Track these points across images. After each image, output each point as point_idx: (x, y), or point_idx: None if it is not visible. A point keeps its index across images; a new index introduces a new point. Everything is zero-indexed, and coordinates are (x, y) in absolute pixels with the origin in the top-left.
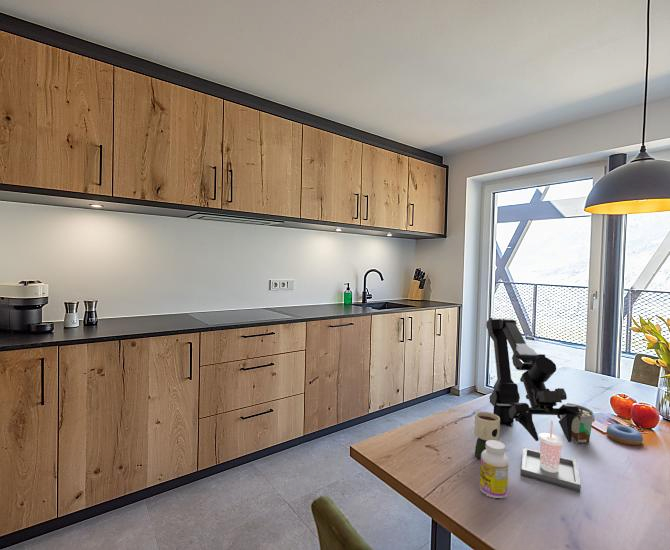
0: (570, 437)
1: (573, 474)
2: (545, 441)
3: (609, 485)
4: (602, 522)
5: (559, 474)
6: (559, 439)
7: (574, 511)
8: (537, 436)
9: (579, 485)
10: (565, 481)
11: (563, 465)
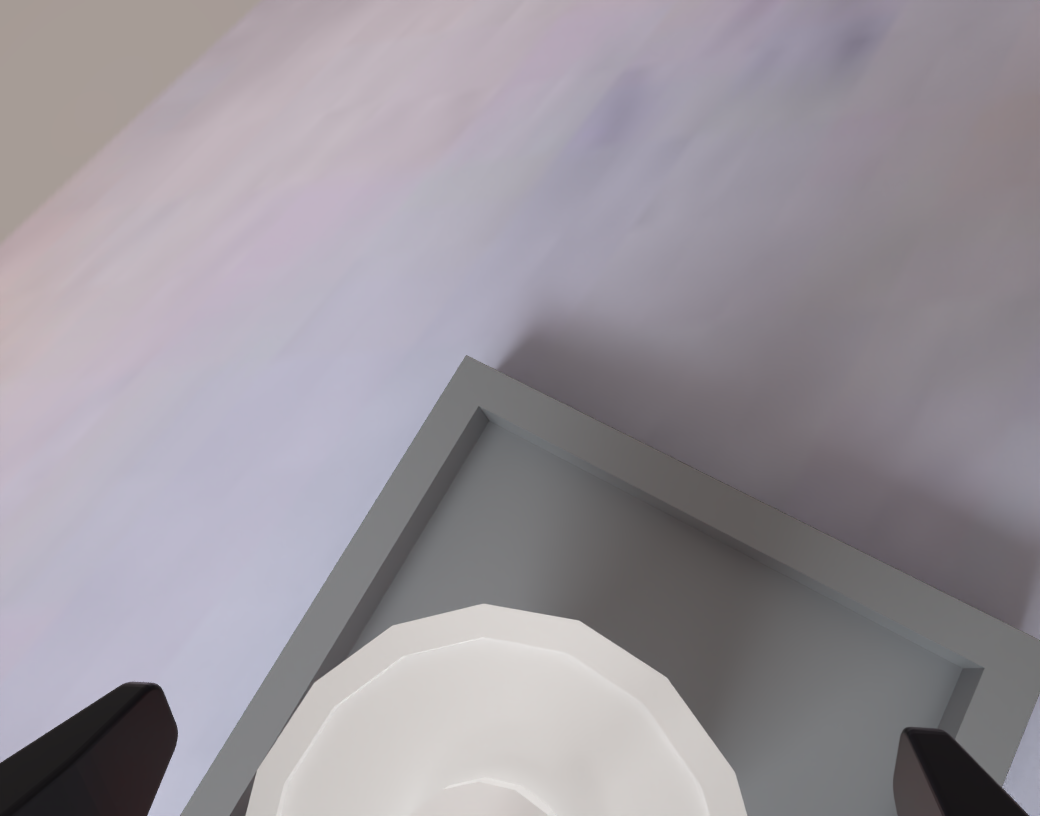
0: (79, 730)
1: (363, 638)
2: (704, 731)
3: (130, 509)
4: (562, 53)
5: None
6: (317, 809)
7: (704, 134)
8: (951, 781)
9: (476, 361)
10: (583, 417)
11: None
